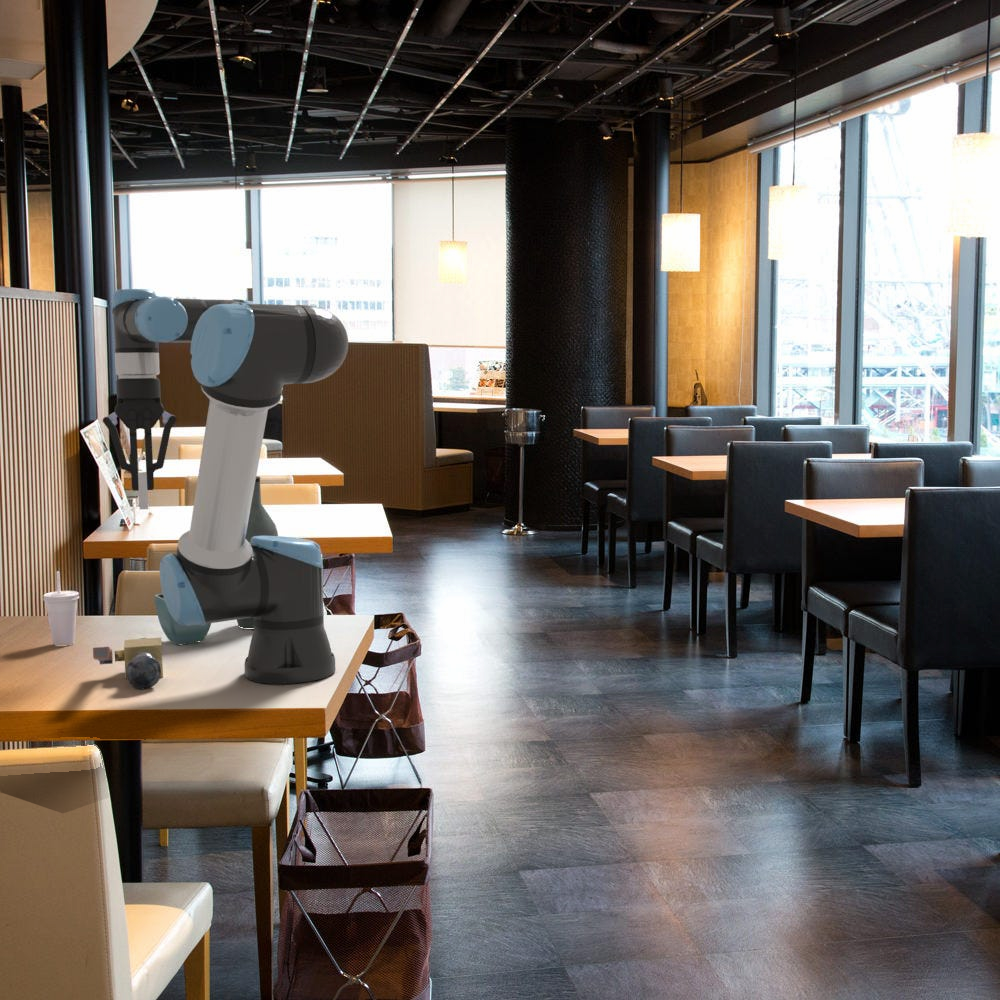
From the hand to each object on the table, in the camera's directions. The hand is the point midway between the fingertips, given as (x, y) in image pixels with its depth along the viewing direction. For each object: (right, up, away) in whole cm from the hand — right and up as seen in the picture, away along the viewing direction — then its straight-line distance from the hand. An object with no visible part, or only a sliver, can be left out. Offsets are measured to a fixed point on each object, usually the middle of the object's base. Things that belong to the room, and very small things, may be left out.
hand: (143, 508), depth 216 cm
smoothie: (-18, -26, +10) cm, 33 cm away
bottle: (+16, -24, +24) cm, 38 cm away
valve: (+5, -28, -16) cm, 33 cm away
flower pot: (+5, -26, +11) cm, 28 cm away
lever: (-2, -25, -14) cm, 29 cm away
